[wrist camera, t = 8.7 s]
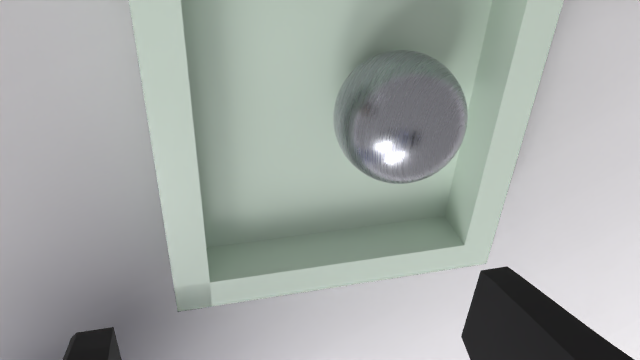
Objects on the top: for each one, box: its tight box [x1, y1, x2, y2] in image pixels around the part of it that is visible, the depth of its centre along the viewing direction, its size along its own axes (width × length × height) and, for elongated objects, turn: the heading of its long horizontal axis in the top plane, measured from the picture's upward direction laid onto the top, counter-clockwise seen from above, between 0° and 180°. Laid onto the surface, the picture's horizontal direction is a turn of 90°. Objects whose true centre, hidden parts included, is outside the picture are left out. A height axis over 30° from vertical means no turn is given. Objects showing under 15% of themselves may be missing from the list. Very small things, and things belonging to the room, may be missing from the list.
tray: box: [129, 0, 564, 312], centre depth 18 cm, size 14×12×2 cm
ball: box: [333, 50, 468, 184], centre depth 17 cm, size 4×4×4 cm
